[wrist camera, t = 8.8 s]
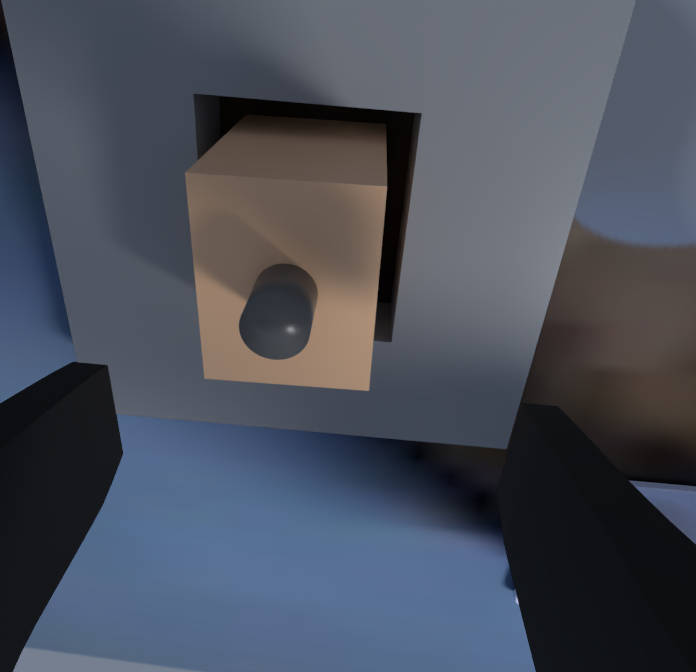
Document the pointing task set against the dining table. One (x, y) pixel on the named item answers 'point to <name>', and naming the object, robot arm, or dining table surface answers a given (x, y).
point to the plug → (289, 250)
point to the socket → (337, 90)
